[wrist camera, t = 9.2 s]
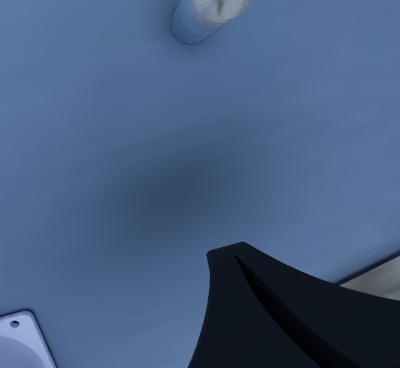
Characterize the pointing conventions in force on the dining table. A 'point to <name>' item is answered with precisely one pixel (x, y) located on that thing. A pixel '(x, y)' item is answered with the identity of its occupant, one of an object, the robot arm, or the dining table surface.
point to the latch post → (203, 17)
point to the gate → (379, 280)
